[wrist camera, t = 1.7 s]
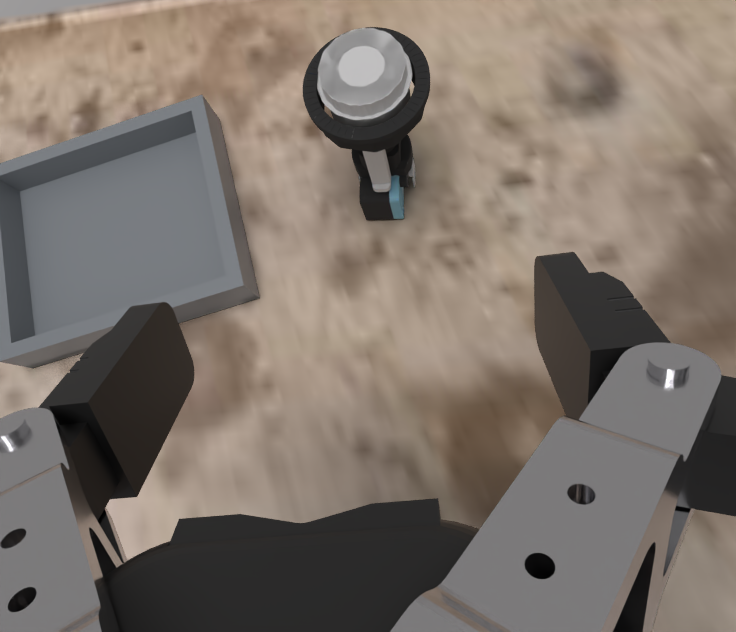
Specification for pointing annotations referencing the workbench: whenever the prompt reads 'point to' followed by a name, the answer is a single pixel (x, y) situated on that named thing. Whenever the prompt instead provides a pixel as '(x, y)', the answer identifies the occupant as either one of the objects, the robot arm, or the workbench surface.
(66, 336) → the tray
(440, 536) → the robot arm
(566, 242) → the workbench surface
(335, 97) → the push button
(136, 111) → the workbench surface
